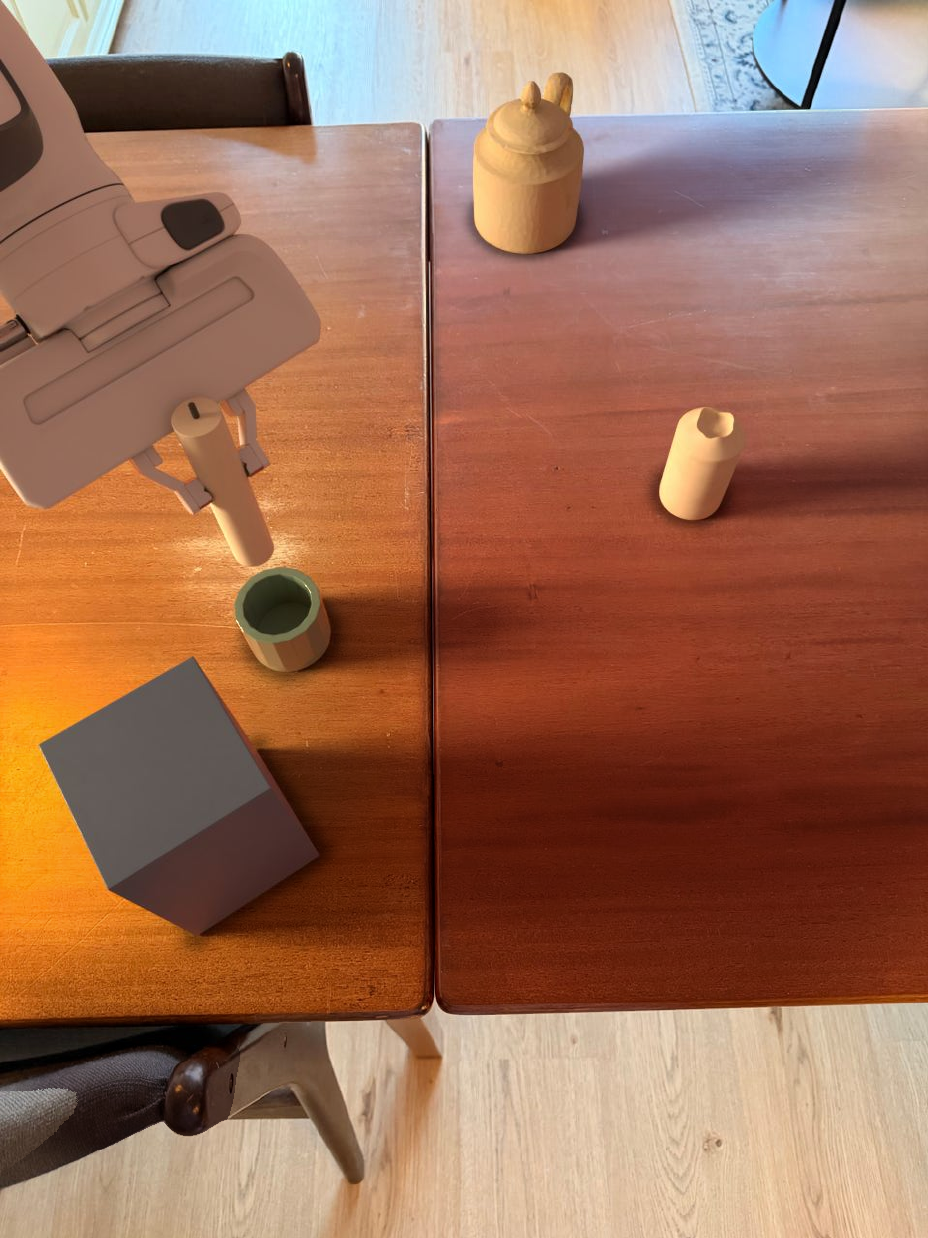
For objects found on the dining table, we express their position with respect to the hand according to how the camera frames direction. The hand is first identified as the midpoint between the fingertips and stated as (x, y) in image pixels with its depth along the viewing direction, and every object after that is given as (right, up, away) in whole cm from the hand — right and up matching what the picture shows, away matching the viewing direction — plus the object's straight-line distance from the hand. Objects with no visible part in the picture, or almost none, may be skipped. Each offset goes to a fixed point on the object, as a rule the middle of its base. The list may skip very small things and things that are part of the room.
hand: (231, 489), depth 55 cm
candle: (+34, +3, +25) cm, 42 cm away
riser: (-3, -24, +11) cm, 27 cm away
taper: (0, -3, +7) cm, 8 cm away
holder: (0, -9, +19) cm, 21 cm away
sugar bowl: (+21, +37, +42) cm, 60 cm away
